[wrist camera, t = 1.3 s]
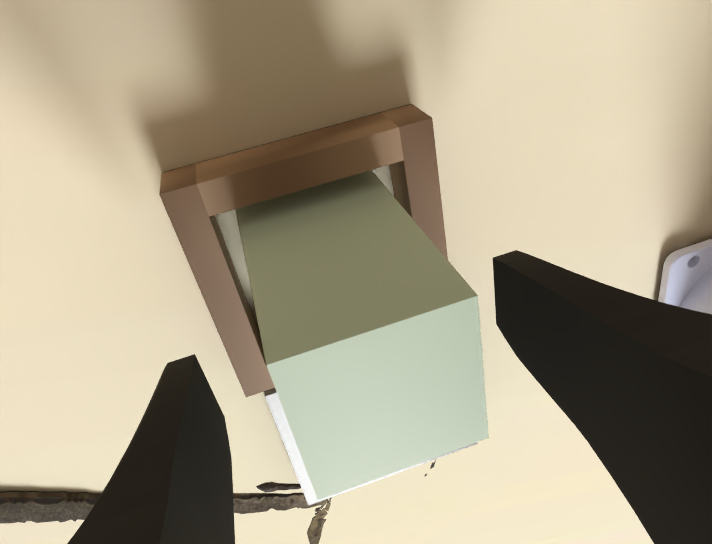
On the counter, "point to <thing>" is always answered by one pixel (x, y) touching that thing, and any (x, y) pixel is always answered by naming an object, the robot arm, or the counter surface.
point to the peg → (363, 331)
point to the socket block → (283, 176)
